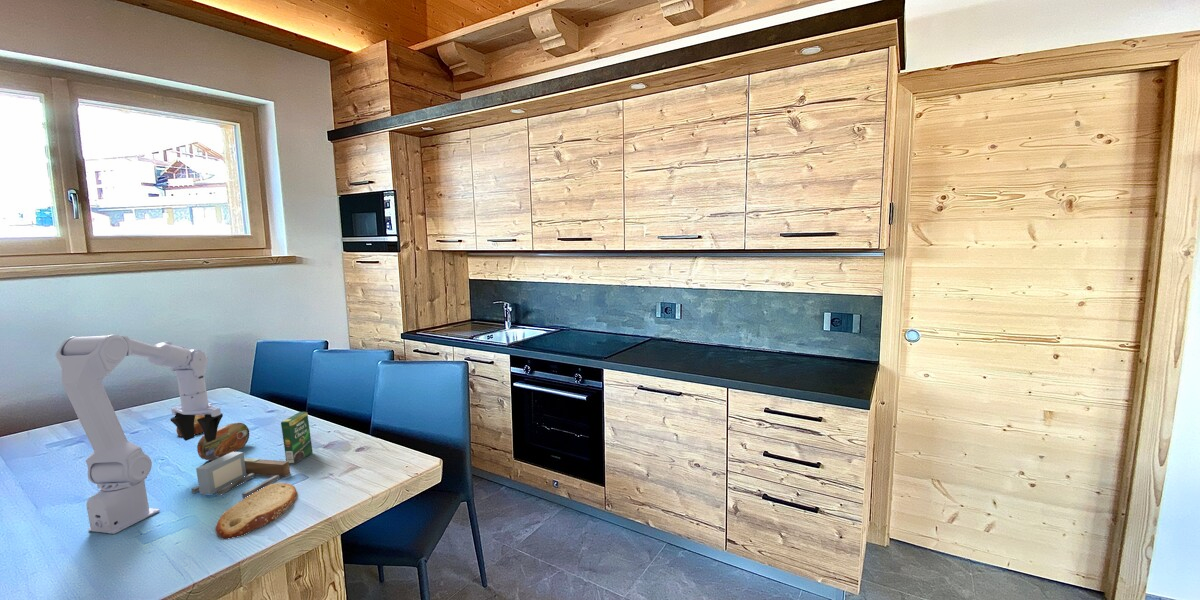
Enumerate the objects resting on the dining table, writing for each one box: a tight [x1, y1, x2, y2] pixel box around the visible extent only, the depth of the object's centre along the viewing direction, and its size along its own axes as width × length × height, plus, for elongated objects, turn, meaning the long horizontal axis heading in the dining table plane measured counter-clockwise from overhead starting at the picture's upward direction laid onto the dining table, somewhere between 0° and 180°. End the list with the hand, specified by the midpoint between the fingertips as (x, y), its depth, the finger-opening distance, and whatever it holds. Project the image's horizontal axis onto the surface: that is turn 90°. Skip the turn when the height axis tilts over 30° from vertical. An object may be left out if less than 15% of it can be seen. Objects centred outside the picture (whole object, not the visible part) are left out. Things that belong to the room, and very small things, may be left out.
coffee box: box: [280, 411, 313, 465], centre depth 144 cm, size 8×3×13 cm, turn 175°
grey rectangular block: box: [195, 451, 247, 496], centre depth 130 cm, size 10×4×7 cm, turn 168°
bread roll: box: [175, 415, 205, 437], centre depth 170 cm, size 10×10×8 cm
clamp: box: [191, 457, 291, 498], centre depth 130 cm, size 13×18×4 cm
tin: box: [196, 422, 250, 461], centre depth 150 cm, size 15×3×8 cm, turn 168°
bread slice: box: [214, 482, 298, 540], centre depth 116 cm, size 18×18×4 cm
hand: (200, 439), depth 136 cm, fingers open, 7 cm apart
